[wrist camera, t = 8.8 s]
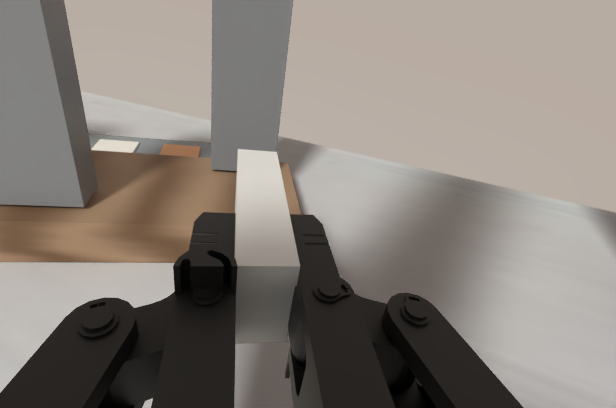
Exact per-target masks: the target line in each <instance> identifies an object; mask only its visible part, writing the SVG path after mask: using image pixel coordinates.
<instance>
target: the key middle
mask: <svg viewBox="0 0 616 408" xmlns="http://www.w3.org/2000/svg"><path fill="white" fill-rule="evenodd" d="M97 188H98V184H97V179H96V173H95V168H94V162H93V157H92V151H91V146H90V140H89V135H88V130H87V124H86V119H85V113H84V108H83V102H82V97H81V91H80V86H79V80H78V75H77V69H76V64H75V59H74V53H73V48H72V42H71V37H70V31H69V26H68V20H67V15H66V9H65V4H64V0H0V204H3V205H32V206H61V207H85V205H86V204H87V202H88V201H89V199H90V198H91V196H92V195H93V194H94V192H95V191H96V189H97Z"/></svg>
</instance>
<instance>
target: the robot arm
mask: <svg viewBox="0 0 616 408" xmlns="http://www.w3.org/2000/svg"><path fill="white" fill-rule="evenodd" d="M328 244H329V243H328V240H327V237H326V234H325V231H324V228H323V225H322V224H321V223H320V221H319V220H318V219H317V218H316V217H315V216H314V215H297V214H289V209H288V204H287V199H286V194H285V189H284V184H283V179H282V174H281V169H280V164H279V160H278V155H277V152H271V151H258V150H245V149H238V156H237V175H236V195H235V213H217V212H203V213H202V214H201V215H200V216H199V217H198V218H197V219H196V220H195V221H194V225H193V230H192V235H191V240H190V245H189V250H188V251H187V252H185V253H184V254H183V255H181V256H180V257H179V258H178V259H177V260H176V262H175V264H174V266H173V269H174V285H175V292H174V293H172V294H171V295H170V296H169V297H167V298H165V299H163V300H161V301H158V302H155V303H153V304H149V305H145V306H141V307H137V308H133V307H132V306H131V305H130V304H129V302H127V301H124V300H121V299H119V298H101V299H97V300H93V301H89V302H87V303H85V304H83V305H81V306H79V307H77V308H76V309H74V310H73V311H72V312H71V313H70V314H69V315H68V316H66V317H65V318H64V320H63V321H62V322H61V323H60V324H59V325H58V327H57V328H56V329H55V330H54V331H53V332H52V334H51V335H50V336H49V337H48V338H47V339H46V341H45V342H44V343H43V344H42V345H41V346H40V348H39V349H38V350H37V351H36V352H35V353H34V355H33V356H32V357H31V358H30V359H29V360H28V362H27V363H26V364H25V365H24V366H23V367H22V368H21V370H20V371H19V372H18V373H17V374H16V375H15V377H14V378H13V379H12V380H11V381H10V382H9V384H8V385H7V386H6V387H5V388H4V389H3V391H2V392H1V393H0V408H142V406H143V404H144V402H145V401H146V400H149V399H151V398H153V402H152V406H151V408H234V385H235V344H241V343H266V342H286V341H287V336H288V331H289V338H290V351H289V356H288V361H287V366H286V372H285V378H289V376H290V379H291V388H292V396H293V405H294V408H523V407H522V405H521V404H520V403H519V402H518V401H517V400H516V399H515V397H514V396H513V395H512V394H511V393H510V392H509V391H508V389H507V388H506V387H505V386H504V385H503V384H502V383H501V382H500V380H499V379H498V378H497V377H496V376H495V375H494V374H493V372H492V371H491V370H490V369H489V368H488V367H487V366H486V364H485V363H484V362H483V361H482V360H481V359H480V358H479V356H478V355H477V354H476V353H475V352H474V351H473V350H472V348H471V347H470V346H469V345H468V344H467V343H466V342H465V340H464V339H463V338H462V337H461V336H460V335H459V334H458V332H457V331H456V330H455V329H454V328H453V327H452V326H451V324H450V323H449V322H448V321H447V320H446V319H445V318H444V317H443V315H442V314H441V313H440V312H439V311H438V310H437V309H436V308H435V307H434V306H433V305H432V304H431V303H430V302H429V301H427V300H425V299H424V298H422V297H420V296H418V295H414V294H410V293H399V294H396V295H394V296H392V297H391V298H390V300H389V301H388V303H387V304H385V303H381V302H377V301H373V300H369V299H366V298H363V297H360V296H358V295H356V294H355V293H354V291H353V289H352V288H351V286H350V285H349V284H348V283H347V282H346V281H344V280H343V279H342V278H340V277H339V273H338V270H337V267H336V264H335V261H334V258H333V255H332V252H331V249H330V246H329V245H328Z"/></svg>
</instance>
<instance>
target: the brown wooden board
mask: <svg viewBox="0 0 616 408" xmlns="http://www.w3.org/2000/svg"><path fill="white" fill-rule="evenodd" d="M91 151H92V157H93V162H94V168H95V173H96V179H97V184H98V188H97V189H96V191H95V192H94V194H93V195H92V196H91V198H90V199H89V201H88V202H87V204H86V205H85V207H61V206H32V205H3V204H0V262H176V260H177V259H178V258H179V257H180V256H181V255H183V254H184V253H185V252H187V251H188V250H189V245H190V240H191V235H192V230H193V225H194V221H195V220H196V219H197V218H198V217H199V216H200V215H201V214H202V213H203V212H217V213H235V195H236V175H237V171H229V170H212V169H211V158H203V157H188V156H173V155H158V154H143V153H128V152H113V151H98V150H91ZM279 164H280V169H281V174H282V179H283V184H284V189H285V194H286V199H287V204H288V209H289V214H297V215H302V214H301V211H300V207H299V203H298V199H297V195H296V192H295V188H294V184H293V180H292V176H291V173H290V169H289V165H288V163H279Z"/></svg>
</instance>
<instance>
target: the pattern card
mask: <svg viewBox="0 0 616 408" xmlns="http://www.w3.org/2000/svg"><path fill="white" fill-rule="evenodd" d="M88 135H89V140H90V146H91V150H98V151H113V152H128V153H143V154H158V155H173V156H188V157H203V158H211V143H202V142H189V141H176V140H162V139H149V138H136V137H123V136H110V135H96V134H88Z"/></svg>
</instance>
